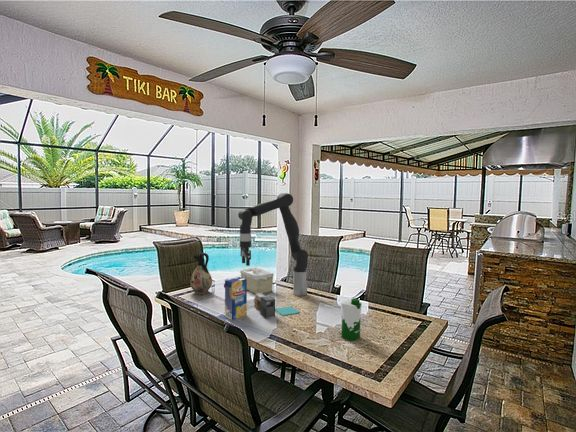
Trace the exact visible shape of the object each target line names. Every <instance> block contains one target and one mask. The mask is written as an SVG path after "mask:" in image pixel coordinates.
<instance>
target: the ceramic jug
mask: <svg viewBox="0 0 576 432" xmlns="http://www.w3.org/2000/svg"><path fill="white" fill-rule="evenodd" d="M204 257H205V259H204ZM192 259H193V260H195V261H197V265H196V267H195V269H194V270H193V272H192V275H191V278H190V287H191V289H192V290H193V292H194V294H196V295H205V294H208V293H209V290H210V289H211V287H212V285H213V278H212V275H211V273H210V272H209V270H208V263H209V260H210V259H209V255H208V253H206V252H201V253H198V254H194V256H193V257H192Z"/></svg>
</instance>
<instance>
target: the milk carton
mask: <svg viewBox="0 0 576 432" xmlns="http://www.w3.org/2000/svg"><path fill="white" fill-rule="evenodd" d="M362 304H363V302H360V299H359V298H351V299H347V300H345V301H343V302H341V304H340V305H341V335H340V336H341V337H340V338H343V339H346V340H349V341H351V342H355V341H356V340H358V339H359V338H360V337H361V316H362V315H361V313H362V306H363V305H362Z"/></svg>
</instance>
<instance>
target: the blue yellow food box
mask: <svg viewBox="0 0 576 432" xmlns="http://www.w3.org/2000/svg"><path fill="white" fill-rule="evenodd" d="M224 284H225V288H224V317H225V318H226V319H229V320H231V321H233V319H234V320H236V319H238V318H239V319H240V318H241V317H244V316H247V314H248V313H247V310H248V309H247V307H248V306H247V300H248V299H247V297H248V296H247V293H248V290H247V279H245V278H241V276H238V277H237V276H236V277H234V278H229V279H224Z"/></svg>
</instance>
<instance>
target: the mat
mask: <svg viewBox="0 0 576 432" xmlns="http://www.w3.org/2000/svg"><path fill="white" fill-rule="evenodd" d="M275 313H278V314H279V315H280V316H281V317H286V316H289V315H296V314H300V313H301V312H300V311H299V310H297V308H295V307H293V306H292V305H289V306H282V307H277V308H276V307H275Z"/></svg>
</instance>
